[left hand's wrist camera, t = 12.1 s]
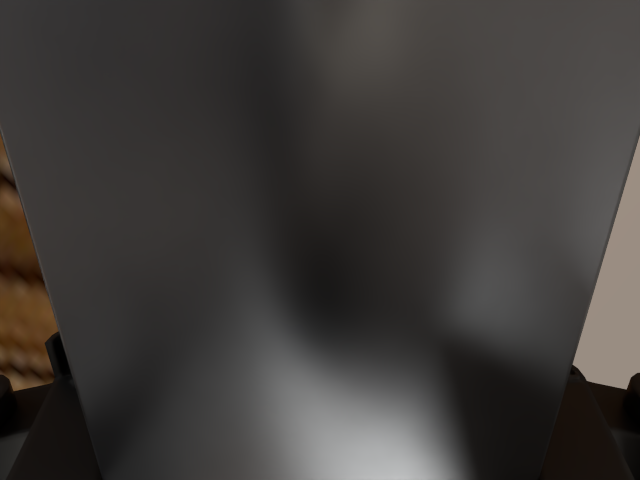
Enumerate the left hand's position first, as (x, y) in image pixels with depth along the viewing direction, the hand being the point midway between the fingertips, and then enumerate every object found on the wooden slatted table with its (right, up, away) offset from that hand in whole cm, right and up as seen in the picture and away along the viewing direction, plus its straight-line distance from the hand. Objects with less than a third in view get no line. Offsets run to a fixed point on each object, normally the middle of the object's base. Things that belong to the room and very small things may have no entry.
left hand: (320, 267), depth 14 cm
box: (0, +8, +1) cm, 8 cm away
